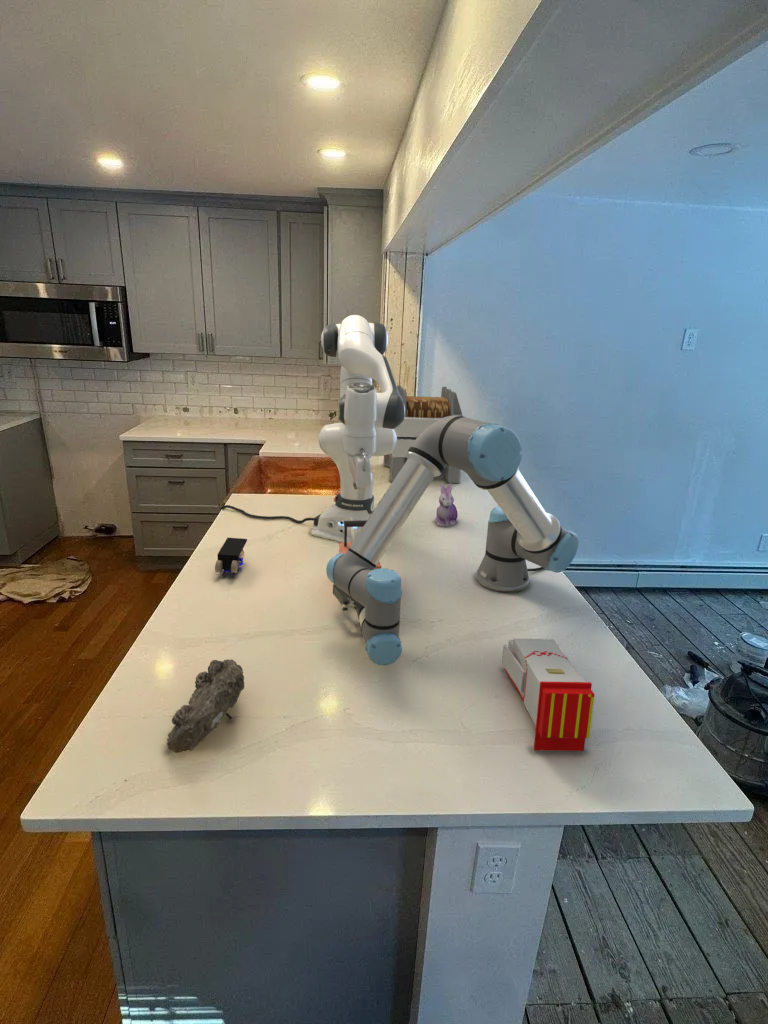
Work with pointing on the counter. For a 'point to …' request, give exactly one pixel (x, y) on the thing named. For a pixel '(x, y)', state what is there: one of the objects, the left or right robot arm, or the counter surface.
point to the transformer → (421, 427)
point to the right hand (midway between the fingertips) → (361, 574)
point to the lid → (346, 545)
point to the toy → (550, 693)
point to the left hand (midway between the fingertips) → (358, 493)
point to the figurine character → (230, 556)
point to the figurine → (446, 508)
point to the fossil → (206, 705)
